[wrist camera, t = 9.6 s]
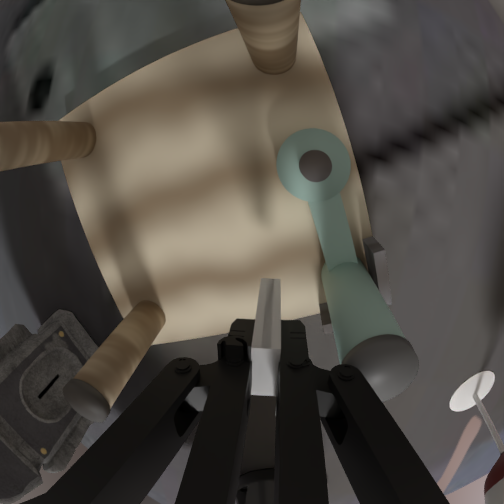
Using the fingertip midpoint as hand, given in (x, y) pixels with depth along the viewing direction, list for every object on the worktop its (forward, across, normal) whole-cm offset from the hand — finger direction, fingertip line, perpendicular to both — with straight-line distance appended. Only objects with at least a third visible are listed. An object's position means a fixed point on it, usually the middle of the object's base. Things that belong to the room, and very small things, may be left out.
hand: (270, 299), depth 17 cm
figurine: (+8, -24, -14) cm, 29 cm away
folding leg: (+4, +4, +4) cm, 7 cm away
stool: (+7, -5, +5) cm, 10 cm away
